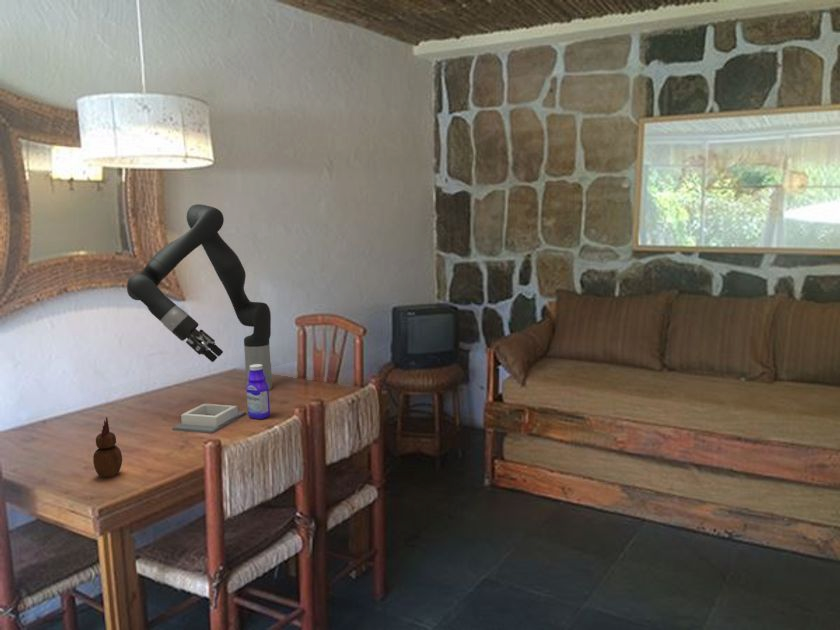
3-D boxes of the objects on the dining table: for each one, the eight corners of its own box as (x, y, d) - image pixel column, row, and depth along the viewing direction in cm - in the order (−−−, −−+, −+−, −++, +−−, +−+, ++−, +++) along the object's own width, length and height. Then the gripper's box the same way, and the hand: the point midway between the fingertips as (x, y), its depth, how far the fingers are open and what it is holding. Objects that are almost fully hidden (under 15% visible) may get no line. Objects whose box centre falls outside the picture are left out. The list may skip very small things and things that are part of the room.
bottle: (244, 417, 220) (241, 366, 218) (256, 413, 225) (253, 362, 222) (261, 420, 217) (258, 368, 214) (273, 416, 222) (270, 364, 219)
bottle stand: (208, 411, 228) (208, 400, 228) (245, 413, 225) (245, 402, 224) (172, 429, 209) (171, 418, 209) (212, 433, 206) (211, 421, 205)
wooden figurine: (109, 469, 179) (104, 414, 176) (127, 471, 177) (122, 416, 174) (90, 478, 172) (84, 422, 170) (108, 481, 170) (103, 424, 168)
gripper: (181, 318, 207) (221, 353, 210) (193, 311, 221) (230, 344, 224) (164, 335, 208) (205, 370, 210) (177, 327, 222) (215, 360, 224)
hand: (218, 357), depth 217 cm, fingers open, 8 cm apart
